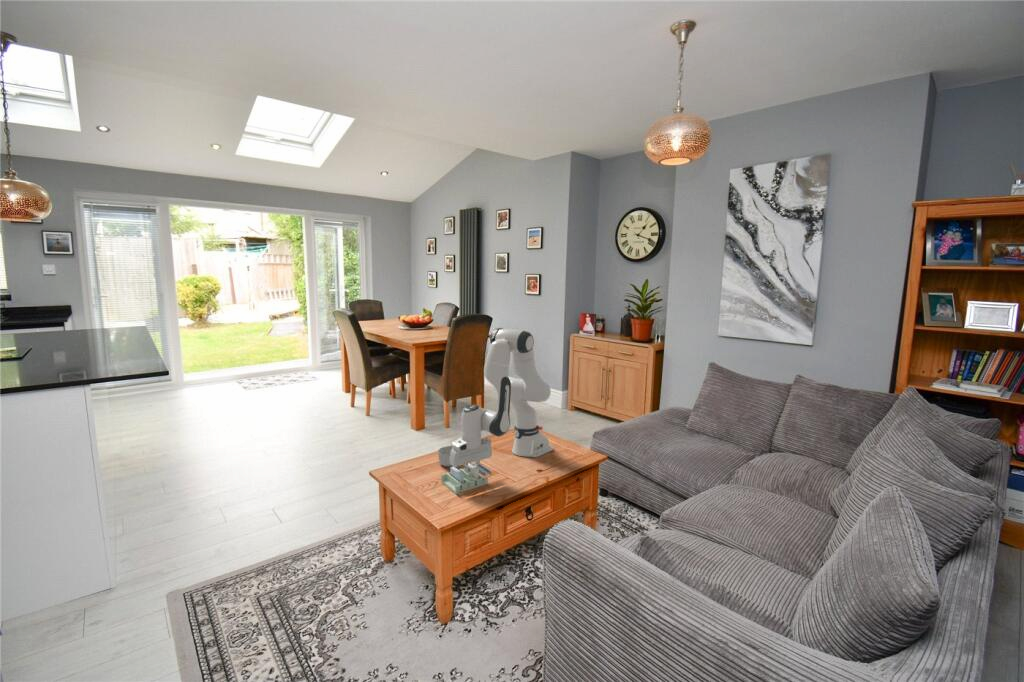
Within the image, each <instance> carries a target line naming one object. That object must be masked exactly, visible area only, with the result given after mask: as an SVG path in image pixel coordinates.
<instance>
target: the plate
mask: <svg viewBox="0 0 1024 682" xmlns="http://www.w3.org/2000/svg"><path fill="white" fill-rule="evenodd" d="M467 467H469V468H470V472H468V474H469V475H471V476H472V477H474V478H475V479H476V480H478V479H479V475H480V473H479V469H477V468H476V467H474V466H473V465H471V464H470V463H468V466H467ZM465 472H466V471H465Z"/></svg>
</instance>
